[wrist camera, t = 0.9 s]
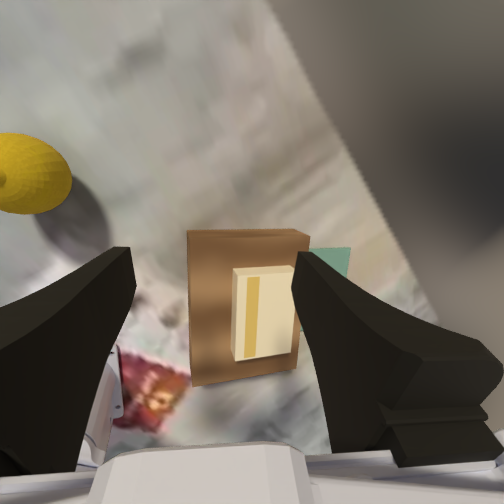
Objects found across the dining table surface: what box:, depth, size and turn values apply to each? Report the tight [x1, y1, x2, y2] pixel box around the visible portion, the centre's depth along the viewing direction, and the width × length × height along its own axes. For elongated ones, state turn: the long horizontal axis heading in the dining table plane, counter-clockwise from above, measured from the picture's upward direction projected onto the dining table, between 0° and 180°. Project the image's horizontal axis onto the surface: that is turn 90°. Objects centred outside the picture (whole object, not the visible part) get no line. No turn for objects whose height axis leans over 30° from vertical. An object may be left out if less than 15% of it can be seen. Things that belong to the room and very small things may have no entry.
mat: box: [300, 247, 351, 331], centre depth 34 cm, size 11×8×1 cm
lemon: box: [0, 133, 72, 215], centre depth 19 cm, size 6×6×8 cm
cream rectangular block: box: [231, 265, 295, 361], centre depth 27 cm, size 9×6×2 cm, turn 177°
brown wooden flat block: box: [187, 229, 310, 387], centre depth 30 cm, size 16×12×4 cm
